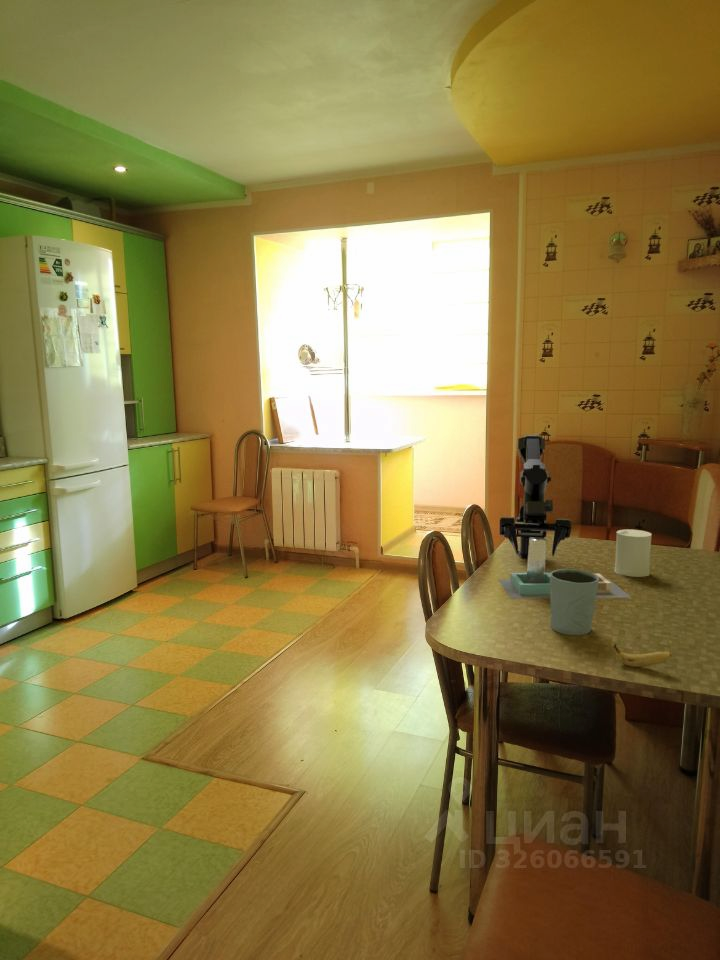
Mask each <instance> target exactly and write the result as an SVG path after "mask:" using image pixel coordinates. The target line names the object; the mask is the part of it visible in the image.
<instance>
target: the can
mask: <svg viewBox="0 0 720 960" xmlns="http://www.w3.org/2000/svg"><path fill="white" fill-rule="evenodd" d="M652 535H653V534H652V532H649V531H645V530H639V529H629V528H627V529H619V530H617V531H616V543H615V544H616V546H615V564H614V572H615V573H616V574H618V575H621V576H627V577H633V578H636V577H637V578H639V577H642V578H643V577H647V576H648V577H649V576H650V564H651V563H650V562H651V544H652Z"/></svg>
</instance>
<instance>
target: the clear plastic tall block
mask: <svg viewBox="0 0 720 960" xmlns="http://www.w3.org/2000/svg"><path fill="white" fill-rule="evenodd" d="M547 541H548V540H547V539H546V537H544V538H540V537H531V538H529V549H528V558H527V568H526V570H527V571H526V573H527V582H526V583H544V575H545V573H546V572H545V571H546V556H547V544H548V543H547Z"/></svg>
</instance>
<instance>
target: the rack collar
mask: <svg viewBox="0 0 720 960" xmlns="http://www.w3.org/2000/svg"><path fill="white" fill-rule="evenodd" d="M550 573H551V572H545V575H544V583H526V582H527V572H510V578H509V579H510V582H511V584H512V585H513V586H514V588H515V589H516V590H517V592H518V593H519V594H520V595H523V594H550V593H551V590H550ZM524 583H526V584H524Z"/></svg>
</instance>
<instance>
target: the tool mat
mask: <svg viewBox="0 0 720 960" xmlns="http://www.w3.org/2000/svg"><path fill="white" fill-rule="evenodd" d="M604 578H605V579H607V580H608V581H609V582H610V583H611V593H596V599H632V596H630V594H629V593H627V592H625V591H624V590H623V589H622V588H621V587H619V586H618V585H617V584H616V583H615V582H613V581H612V580H611V579H609V578H608V577H607V578H606V577H604ZM497 580H498V582H499V583H500V585H501V586H502V588H503V589H504V590H505V592H506V594H507V595H508V596H509V598H510V599H513V600H516V599H517V600H518V599H519V600H520V599H525V600H528V599H531V600H532V599H533V600H534V599H550V597H551V596H550V594H523V595H520V594H519V593H518V592H517V590H516V589H515V588H514V586H513V585H512V584H511V582H510V578H505V579H504V578H499V579H498V578H497ZM524 584H526V583H524Z"/></svg>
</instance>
